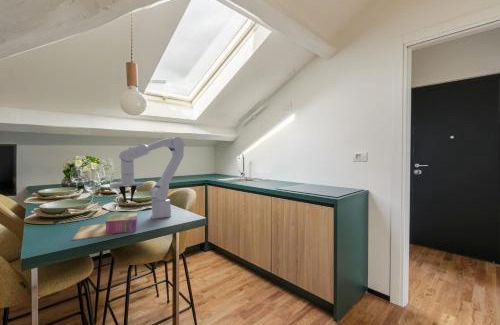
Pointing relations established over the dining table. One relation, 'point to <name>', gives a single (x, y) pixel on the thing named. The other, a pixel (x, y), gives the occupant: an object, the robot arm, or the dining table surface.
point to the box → (121, 223)
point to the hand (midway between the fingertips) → (128, 201)
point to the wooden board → (91, 232)
